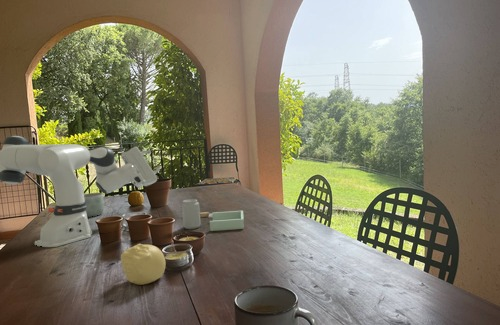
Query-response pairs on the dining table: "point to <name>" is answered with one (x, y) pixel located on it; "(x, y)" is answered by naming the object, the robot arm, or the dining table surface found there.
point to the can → (191, 214)
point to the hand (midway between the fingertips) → (155, 159)
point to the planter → (94, 204)
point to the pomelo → (143, 264)
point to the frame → (227, 220)
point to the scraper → (205, 214)
